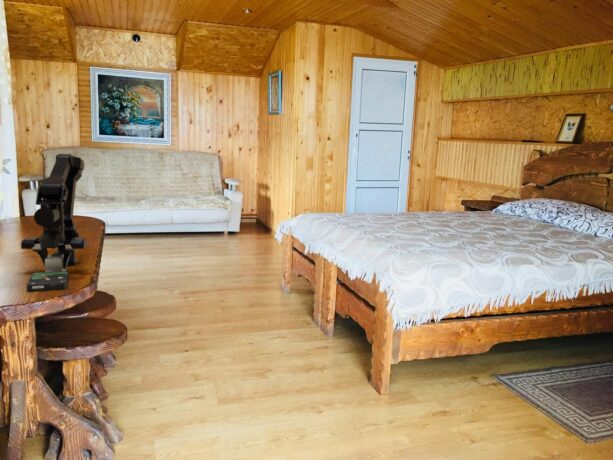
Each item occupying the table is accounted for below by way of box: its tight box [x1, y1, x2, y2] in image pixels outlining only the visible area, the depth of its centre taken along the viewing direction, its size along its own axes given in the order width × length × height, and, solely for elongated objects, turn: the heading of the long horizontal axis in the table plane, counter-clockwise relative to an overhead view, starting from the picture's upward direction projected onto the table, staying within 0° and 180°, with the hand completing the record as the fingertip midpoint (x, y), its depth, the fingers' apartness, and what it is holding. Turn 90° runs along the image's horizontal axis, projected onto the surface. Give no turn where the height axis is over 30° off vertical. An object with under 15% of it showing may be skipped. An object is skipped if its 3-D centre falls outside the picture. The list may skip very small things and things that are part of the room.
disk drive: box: [26, 270, 70, 293], centre depth 162 cm, size 10×3×15 cm
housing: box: [44, 251, 67, 272], centre depth 175 cm, size 5×5×6 cm
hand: (56, 269), depth 175 cm, fingers closed on housing, 5 cm apart
